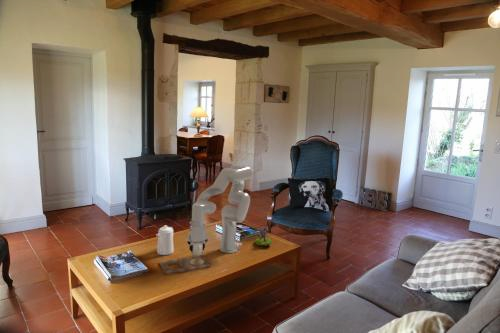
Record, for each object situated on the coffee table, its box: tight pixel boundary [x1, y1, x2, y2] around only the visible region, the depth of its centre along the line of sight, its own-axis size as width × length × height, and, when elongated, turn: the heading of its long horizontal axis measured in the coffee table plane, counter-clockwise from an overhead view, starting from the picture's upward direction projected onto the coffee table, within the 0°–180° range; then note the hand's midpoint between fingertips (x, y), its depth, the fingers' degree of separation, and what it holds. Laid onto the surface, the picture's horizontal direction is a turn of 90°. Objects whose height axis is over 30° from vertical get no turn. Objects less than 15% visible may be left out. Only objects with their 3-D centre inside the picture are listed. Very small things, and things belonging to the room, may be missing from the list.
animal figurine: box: [253, 225, 273, 247], centre depth 261 cm, size 14×13×15 cm
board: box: [158, 255, 211, 276], centre depth 224 cm, size 28×16×1 cm, turn 116°
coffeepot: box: [155, 224, 175, 256], centre depth 240 cm, size 11×25×19 cm, turn 168°
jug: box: [191, 241, 204, 256], centre depth 225 cm, size 11×7×8 cm, turn 26°
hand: (197, 249), depth 226 cm, fingers closed on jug, 6 cm apart
